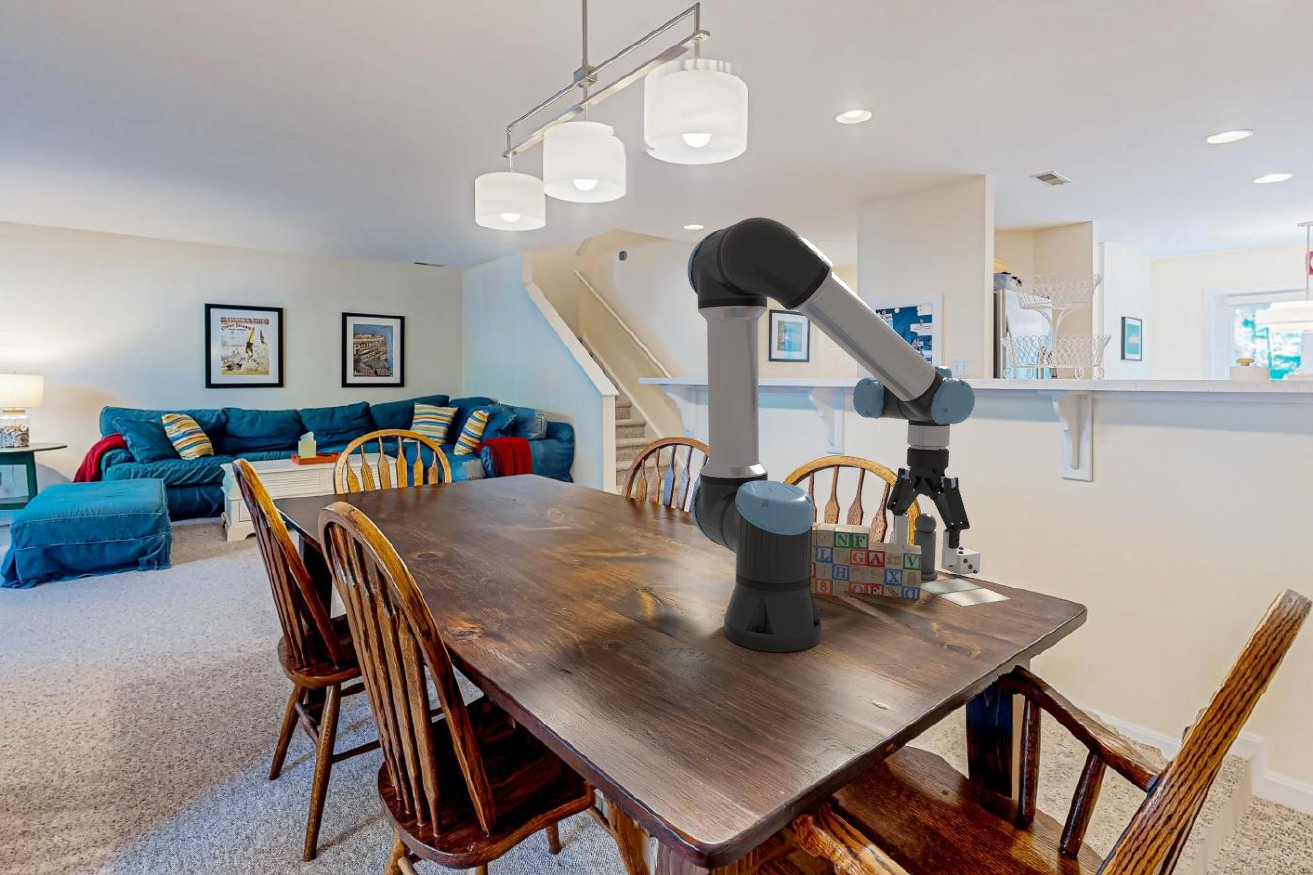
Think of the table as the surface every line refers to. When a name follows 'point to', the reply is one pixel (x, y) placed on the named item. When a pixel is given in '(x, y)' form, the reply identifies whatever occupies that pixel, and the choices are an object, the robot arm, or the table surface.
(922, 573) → the pawn
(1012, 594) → the table surface
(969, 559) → the die
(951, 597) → the board
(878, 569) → the stack of blocks
